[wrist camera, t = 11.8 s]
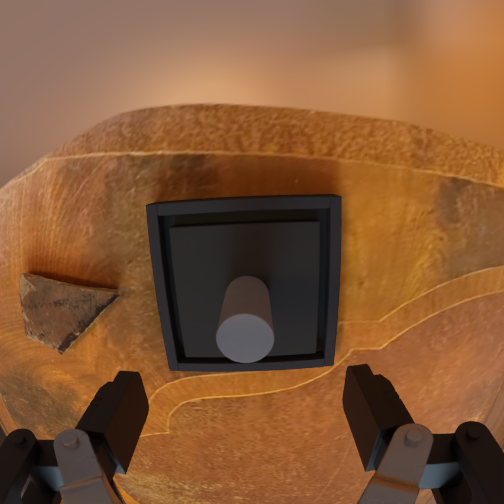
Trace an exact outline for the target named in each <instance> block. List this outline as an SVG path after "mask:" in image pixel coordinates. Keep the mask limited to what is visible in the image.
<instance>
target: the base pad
mask: <svg viewBox="0 0 504 504" xmlns="http://www.w3.org/2000/svg"><path fill="white" fill-rule="evenodd" d="M146 212H147V223H148V233H149V243H150V252H151V260H152V268H153V276H154V283H155V290H156V297H157V303H158V309H159V315H160V321H161V327H162V333H163V338H164V344H165V349H166V354H167V359H168V364H169V369H170V371H201V372H235V371H268V370H287V369H302V368H314V367H324V366H333V365H334V356H335V345H336V333H337V320H338V306H339V288H340V265H341V196H338V195H334V194H315V195H273V196H247V197H226V198H208V199H192V200H178V201H165V202H154V203H151V204H148V205H146ZM297 219H317V220H318V221H320V274H319V306H318V328H317V346H316V353H310V354H296V355H279V356H265V357H264V358H262V359H260V360H258V361H255V362H251V363H241V362H236V361H233V360H231V359H229V358H228V357H186V356H185V351H184V345H183V338H182V332H181V325H180V318H179V311H178V304H177V296H176V288H175V280H174V271H173V262H172V253H171V243H170V232H169V228H170V227H171V226H173V225H181V224H199V223H219V222H241V221H267V220H297Z"/></svg>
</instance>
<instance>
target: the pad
mask: <svg viewBox="0 0 504 504" xmlns="http://www.w3.org/2000/svg"><path fill="white" fill-rule="evenodd" d="M169 232H170V243H171V253H172V262H173V271H174V280H175V288H176V296H177V304H178V311H179V318H180V325H181V332H182V338H183V345H184V351H185V356H186V357H228V358H229V359H231V360H233V361H236V362H241V363H251V362H255V361H258V360H260V359H262V358H264V357H265V356H279V355H296V354H310V353H316V346H317V328H318V306H319V274H320V221H318V220H317V219H297V220H267V221H241V222H219V223H199V224H181V225H173V226H171V227H170V228H169Z"/></svg>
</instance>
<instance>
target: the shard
mask: <svg viewBox="0 0 504 504" xmlns="http://www.w3.org/2000/svg"><path fill="white" fill-rule="evenodd" d="M118 291H119V290H118V289H107V288H93V287H85V286H80V285H73V284H71V283H66V282H59V281H56V280H53V279H47V278H45V277H43V276H38V275H33V274H30V273H22V274H21V279H20V301H21V307H22V314H23V320H24V327H25V333H26V335H27V337H28V338H30V339H32V340H35V341H38V342H40V343H43V344H45V345H47V346H49V347H51V348H53V349H55V350H57V351H58V352H59V353H60V354H61V355H63V354H65V352H66V351H67V349H68V348H69V347H70V346H72V344H73V343H74V342H75V341H76V340H77V339H78V337H79V336H80V335H82V334H83V333H84V332H85V331H86V330H88V328H89V327H90V326H91V325H92V324H93V323H94V322H95V321H96V320H97V318H98V317H99V316H100V315H101V314H102V313H103V312H104V311H105V310H106V308H107V307H108V306H109V305H111V304H113V302H114V301H115V300H116V299H117V298H118V297H119V296H120V295H119V294H117V293H118Z"/></svg>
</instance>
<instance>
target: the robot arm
mask: <svg viewBox="0 0 504 504" xmlns="http://www.w3.org/2000/svg"><path fill="white" fill-rule="evenodd" d="M343 408H344V412H345V415H346V418H347V420H348V423H349V426H350V429H351V432H352V435H353V437H354V440H355V443H356V446H357V449H358V452H359V455H360V458H361V461H362V464H363V466H364V469H365V472H367V471H371V470H375V471H376V472H375V474H374V476H372V478H371V480H370V481H369V483H368V485H367V487H366V489H365V490H364V492H363V494H362V496H361V497H360V499H359V501H358V502H357V504H415V501H416V499H417V496H418V493H419V490H420V489H431V490H432V493H433V495H434V498H435V500H436V503H437V504H504V453H503V451H502V449H501V448H500V446H499V445H498V443H497V442H496V440H495V439H494V437H493V436H492V434H491V432H490V431H489V430H488V428H487V427H486V426H485V425H483V424H482V423H479V422H475V421H468V422H465V423H462V424H461V425H460V426H458V428H457V429H456V431H455V433H450V434H432V432H431V431H430V430H429V429H428V428H427V427H425V426H423V425H420V424H415V423H414V421H413V419H412V417H411V416H410V414H409V412H408V411H407V409H406V407H405V405H404V404H403V402H402V400H401V399H399V395H398V394H397V392H395V389H394V387H393V385H392V384H391V382H390V381H389V380H388V379H386V378H385V377H384V376H382V375H381V374H379V375H374V374H373V373H372V371H371V369H370V367H369V366H368V364H361V365H354V366H348V367H347V371H346V378H345V385H344V391H343ZM148 411H149V404H148V399H147V396H146V393H145V389H144V386H143V382H142V379H141V376H140V374H139V372H132V371H119V372H118V374H117V376H116V377H115V379H114V381H113V382H107V383H106V384H105V385H103V386H102V387H101V388H100V389H99V390H98V392H97V393H96V395H95V397H94V398H93V400H92V401H91V403H90V405H89V406H88V408H87V410H86V411H85V413H84V414H83V416H82V418H81V419H80V421H79V423H78V424H77V426H76V428H75V429H68V430H65V431H63V432H61V433H60V434H58V435H57V437H56V438H55V440H37V439H36V437H35V435H34V434H33V432H31V431H30V430H28V429H17V430H14V431H12V432H11V433H10V434H9V435H8V436H7V437H6V439H5V441H4V442H3V443H2V445H1V447H0V504H60V502H61V500H63V503H64V504H126V503H125V501H124V499H123V497H122V495H121V493H120V491H119V489H118V487H117V485H116V483H115V481H114V480H113V477H114V474H115V472H117V473H122V474H126V472H127V469H128V467H129V464H130V461H131V458H132V456H133V453H134V450H135V448H136V445H137V442H138V439H139V437H140V434H141V432H142V429H143V426H144V424H145V421H146V418H147V416H148ZM28 477H29V479H30V482H29V484H28V486H27V489H26V491H25V493H24V495H23V497H22V499H21V496H20V495H21V491H22V489H23V487H24V484H25V483H26V481H27V479H28Z"/></svg>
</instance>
